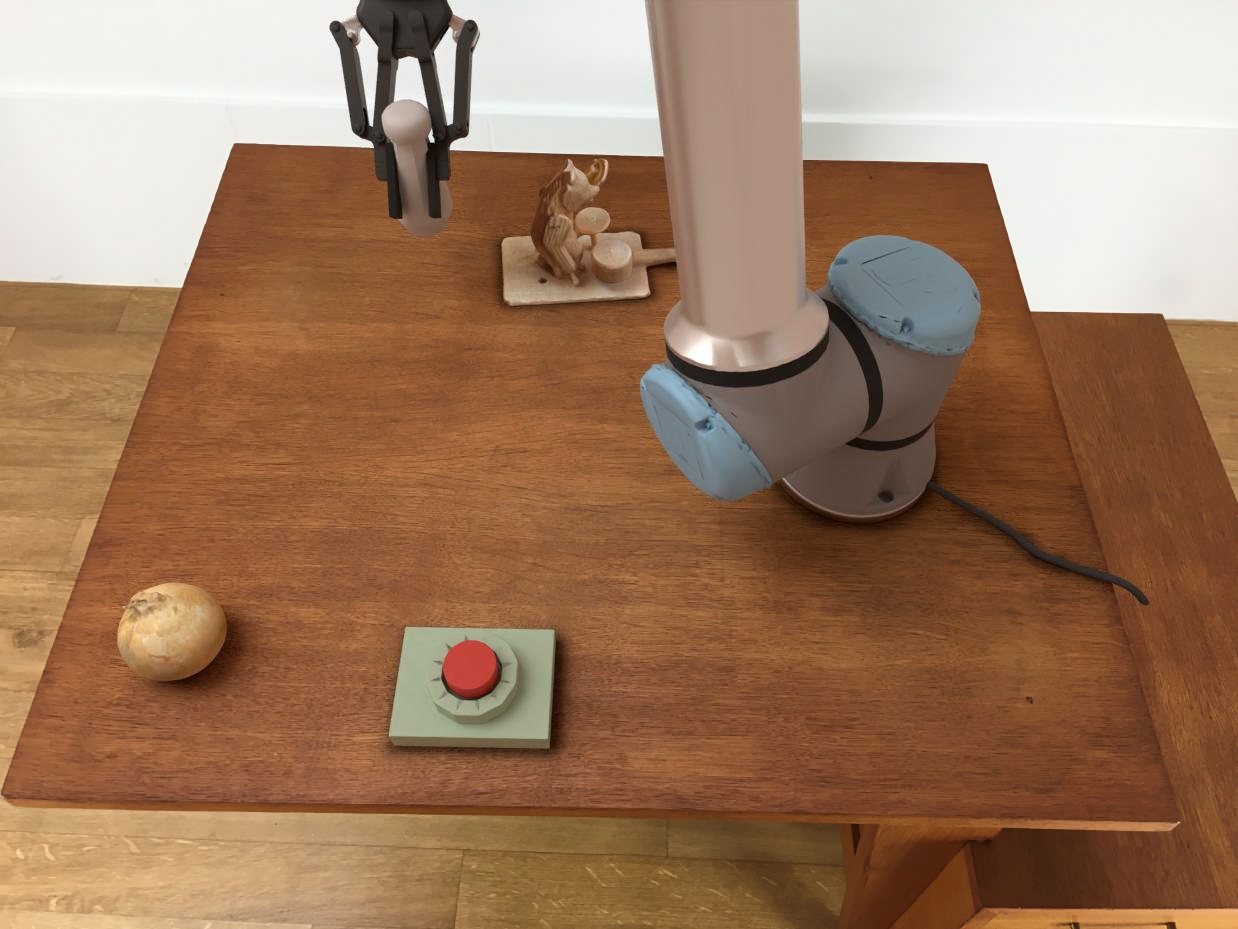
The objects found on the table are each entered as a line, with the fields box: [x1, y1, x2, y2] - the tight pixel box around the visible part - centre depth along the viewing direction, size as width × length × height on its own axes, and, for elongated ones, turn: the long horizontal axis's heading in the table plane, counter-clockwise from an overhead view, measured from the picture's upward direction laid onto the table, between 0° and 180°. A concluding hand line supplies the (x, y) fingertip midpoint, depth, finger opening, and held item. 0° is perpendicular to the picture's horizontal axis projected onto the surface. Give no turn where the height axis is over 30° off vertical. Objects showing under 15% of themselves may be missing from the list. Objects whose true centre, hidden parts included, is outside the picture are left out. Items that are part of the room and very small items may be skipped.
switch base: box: [388, 626, 557, 750], centre depth 75 cm, size 12×9×4 cm
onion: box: [116, 582, 228, 682], centre depth 76 cm, size 8×8×7 cm
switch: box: [443, 640, 498, 698], centre depth 73 cm, size 4×4×2 cm
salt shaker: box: [382, 98, 454, 239], centre depth 90 cm, size 6×6×13 cm
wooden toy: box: [500, 158, 677, 307], centre depth 99 cm, size 22×10×14 cm, turn 94°
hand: (415, 217), depth 90 cm, fingers closed on salt shaker, 3 cm apart
